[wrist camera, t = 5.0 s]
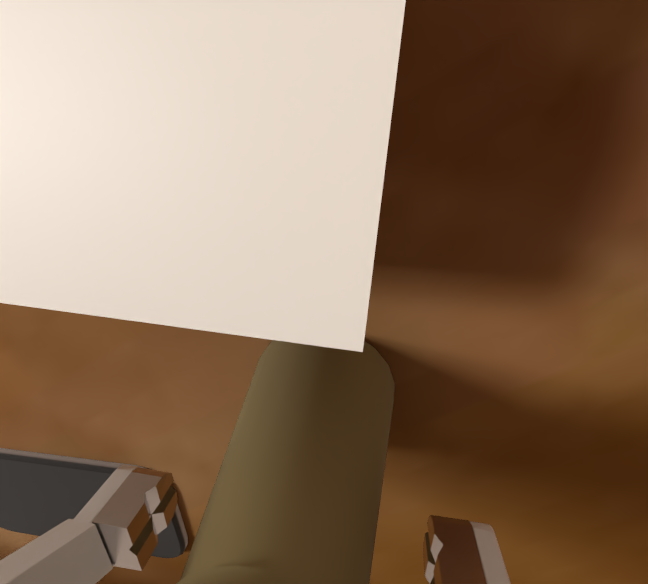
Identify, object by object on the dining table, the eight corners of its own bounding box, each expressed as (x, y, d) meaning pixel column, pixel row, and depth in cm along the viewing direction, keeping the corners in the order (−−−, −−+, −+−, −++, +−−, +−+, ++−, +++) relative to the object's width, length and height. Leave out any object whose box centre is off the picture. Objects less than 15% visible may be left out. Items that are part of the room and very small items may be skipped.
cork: (386, 318, 12) (415, 1085, 2) (402, 439, 14) (454, 1107, 4) (240, 332, 13) (-172, 846, 3) (274, 441, 16) (84, 954, 6)
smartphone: (188, 563, 20) (-9, 528, 23) (195, 548, 21) (5, 516, 23) (160, 478, 17) (-62, 448, 20) (170, 464, 18) (-45, 437, 20)
